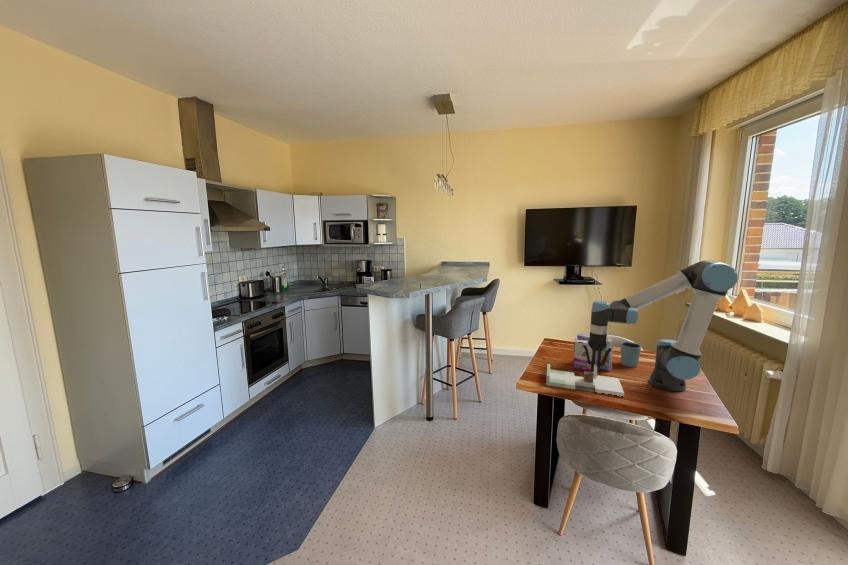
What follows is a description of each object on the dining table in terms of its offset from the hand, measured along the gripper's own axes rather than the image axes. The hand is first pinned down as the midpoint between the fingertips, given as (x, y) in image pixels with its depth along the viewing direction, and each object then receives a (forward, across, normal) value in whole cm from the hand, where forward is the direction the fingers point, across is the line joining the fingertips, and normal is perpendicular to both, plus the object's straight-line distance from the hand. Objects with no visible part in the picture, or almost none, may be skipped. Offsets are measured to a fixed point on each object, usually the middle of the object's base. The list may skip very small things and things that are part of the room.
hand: (594, 377), depth 171 cm
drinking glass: (+4, +22, +37) cm, 43 cm away
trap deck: (+4, -4, 0) cm, 6 cm away
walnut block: (+2, -3, 0) cm, 3 cm away
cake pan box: (+4, +2, +27) cm, 27 cm away
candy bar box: (+4, -4, +20) cm, 21 cm away
